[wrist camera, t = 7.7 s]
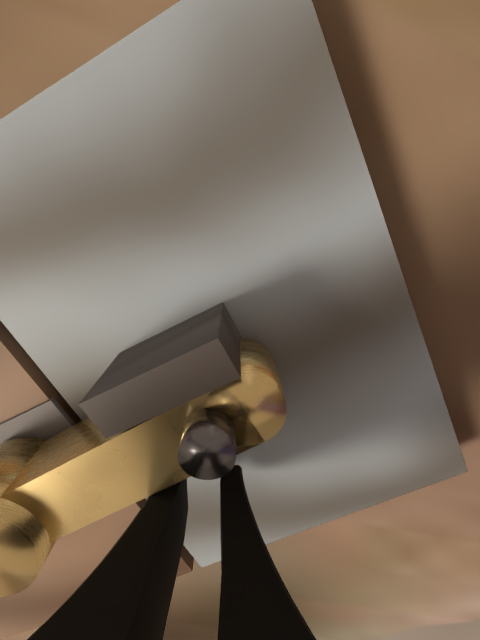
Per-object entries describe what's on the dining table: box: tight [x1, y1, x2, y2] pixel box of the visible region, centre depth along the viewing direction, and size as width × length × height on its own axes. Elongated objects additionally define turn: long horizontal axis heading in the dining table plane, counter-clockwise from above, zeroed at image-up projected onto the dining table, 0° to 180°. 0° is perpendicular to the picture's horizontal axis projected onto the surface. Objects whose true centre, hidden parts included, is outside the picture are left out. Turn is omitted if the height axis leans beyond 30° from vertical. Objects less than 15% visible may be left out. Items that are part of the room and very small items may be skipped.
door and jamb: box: [0, 0, 468, 640], centre depth 11 cm, size 18×26×4 cm
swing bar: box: [0, 339, 287, 597], centre depth 10 cm, size 12×4×3 cm, turn 120°
